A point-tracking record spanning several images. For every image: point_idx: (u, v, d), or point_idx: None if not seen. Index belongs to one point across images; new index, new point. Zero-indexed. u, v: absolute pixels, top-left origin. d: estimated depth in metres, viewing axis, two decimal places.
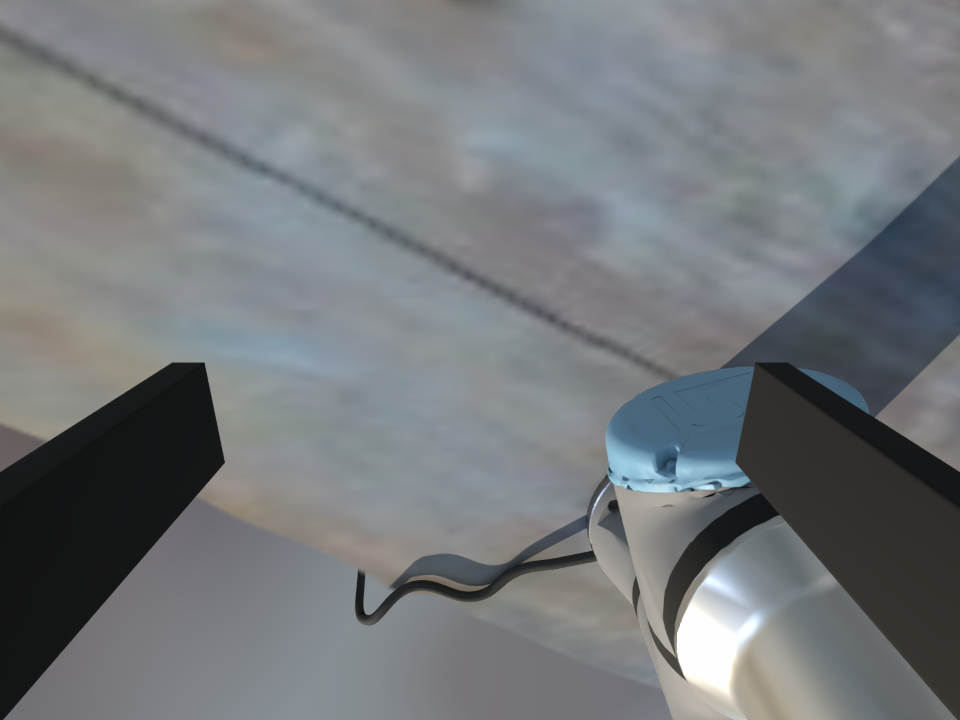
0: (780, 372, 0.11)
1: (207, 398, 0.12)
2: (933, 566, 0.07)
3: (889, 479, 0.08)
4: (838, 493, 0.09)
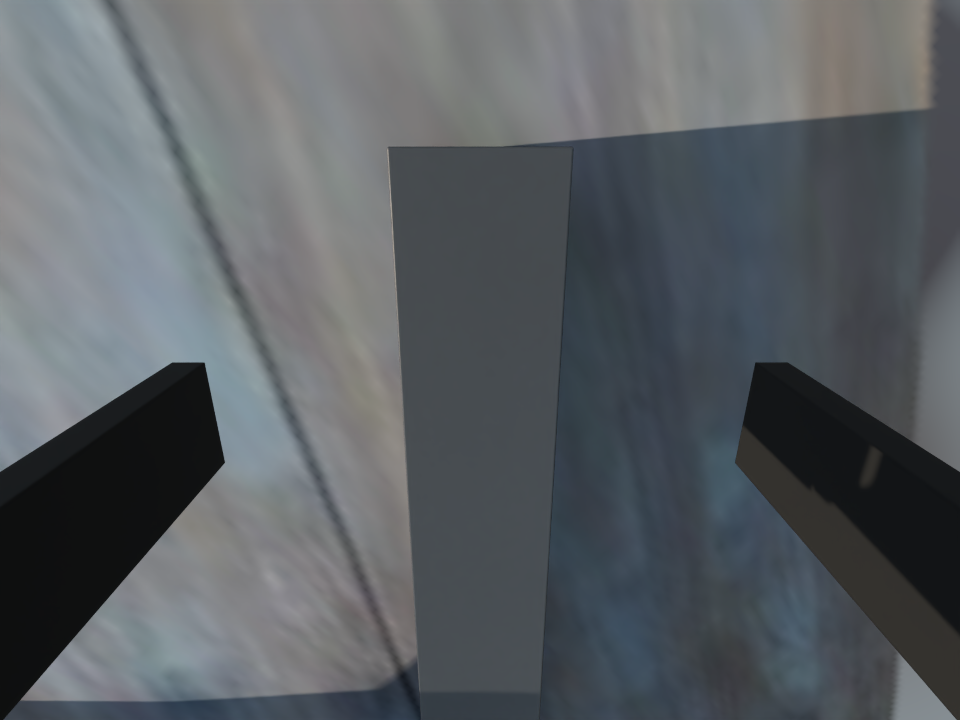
0: (780, 372, 0.11)
1: (208, 398, 0.12)
2: (933, 566, 0.07)
3: (889, 479, 0.08)
4: (838, 493, 0.09)
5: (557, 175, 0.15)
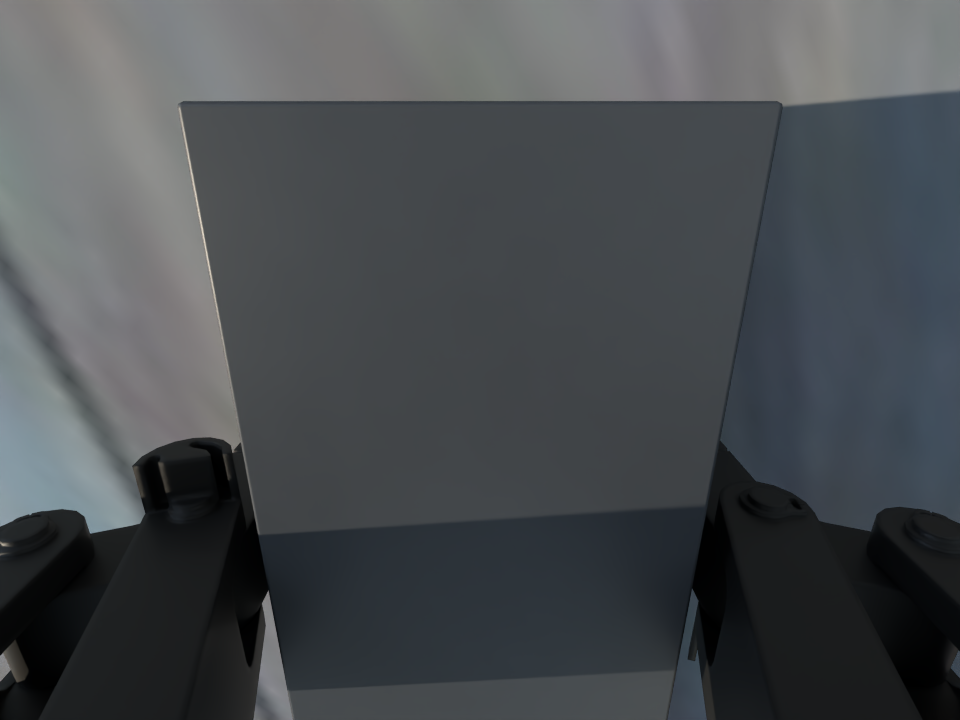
0: None
1: None
2: None
3: None
4: None
5: (721, 193, 0.05)
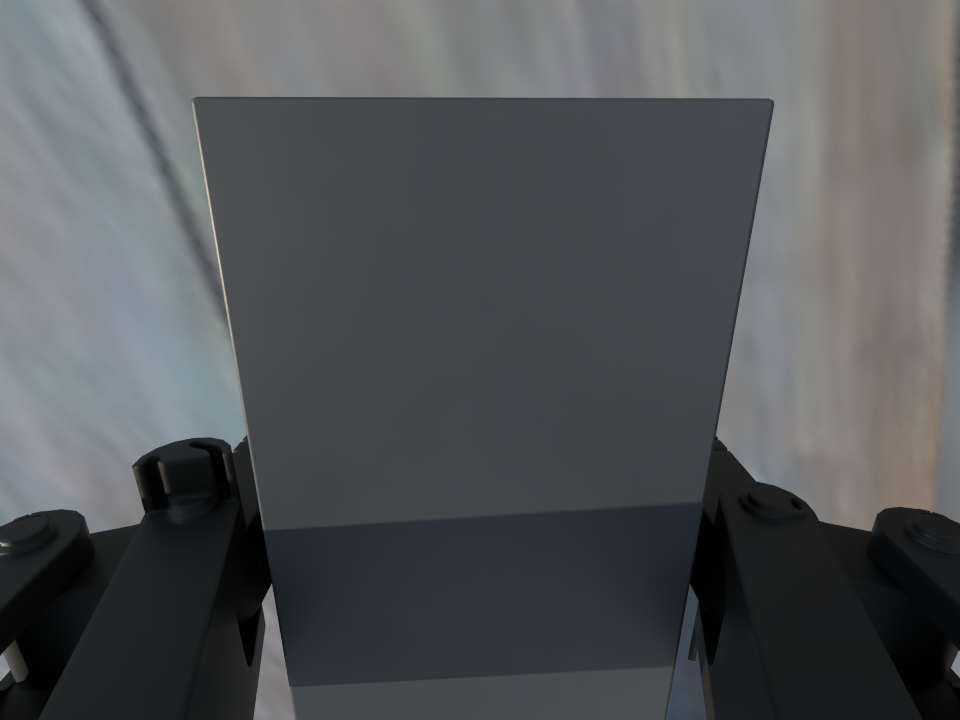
0: None
1: None
2: None
3: None
4: None
5: (716, 187, 0.05)
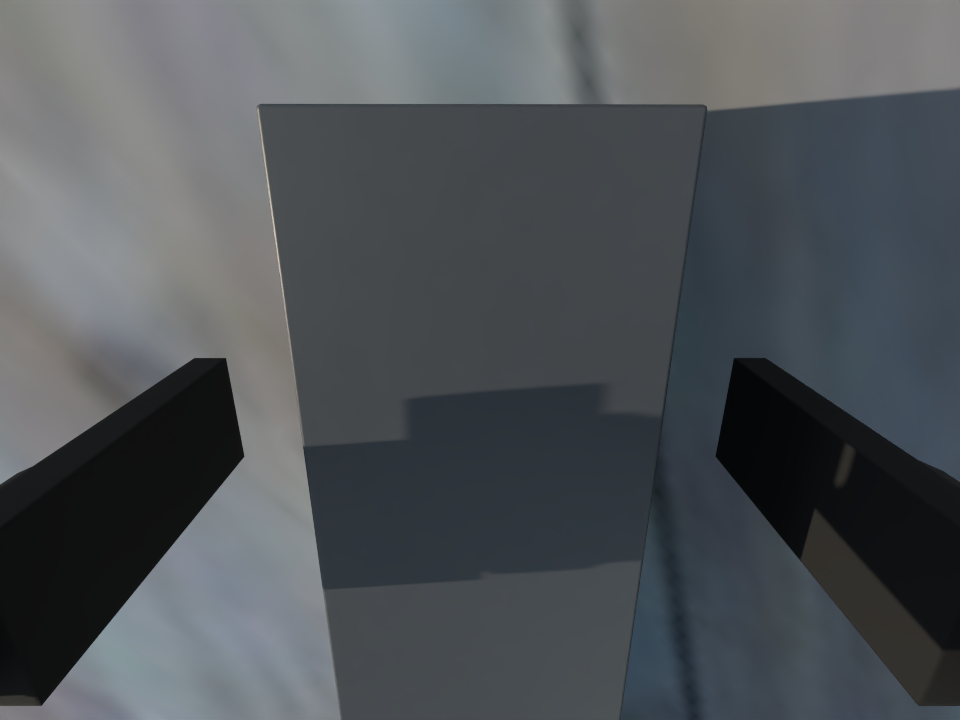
0: (757, 367, 0.12)
1: (229, 393, 0.12)
2: (892, 552, 0.08)
3: (853, 469, 0.08)
4: (808, 484, 0.09)
5: (664, 174, 0.06)
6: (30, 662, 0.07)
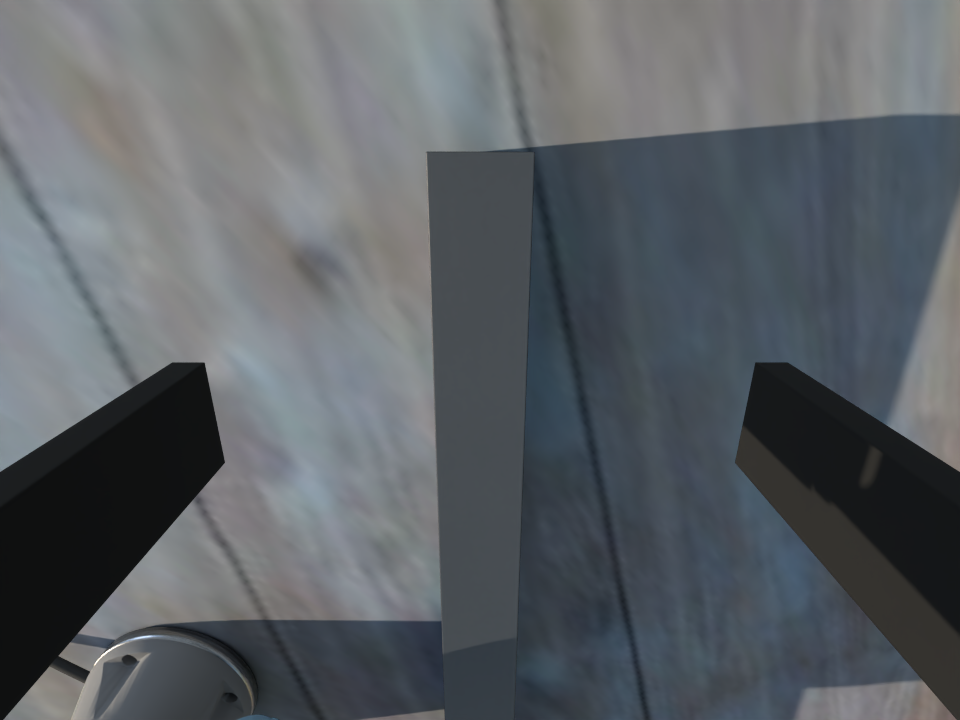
0: (780, 372, 0.11)
1: (208, 398, 0.12)
2: (933, 566, 0.07)
3: (889, 479, 0.08)
4: (838, 493, 0.09)
5: (525, 168, 0.25)
6: None
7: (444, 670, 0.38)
